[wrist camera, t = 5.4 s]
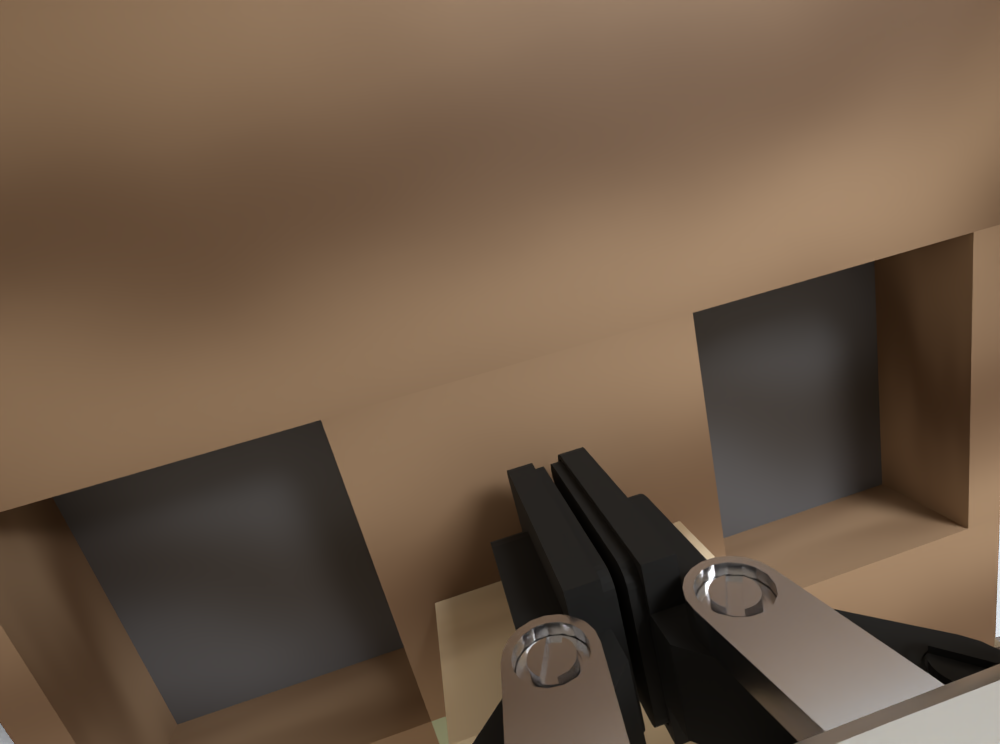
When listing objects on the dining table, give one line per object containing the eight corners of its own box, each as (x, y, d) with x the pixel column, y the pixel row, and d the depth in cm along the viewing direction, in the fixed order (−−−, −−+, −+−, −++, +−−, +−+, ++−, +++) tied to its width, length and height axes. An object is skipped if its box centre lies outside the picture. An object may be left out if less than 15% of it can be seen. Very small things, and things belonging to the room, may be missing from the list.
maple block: (435, 603, 12) (448, 745, 9) (680, 520, 13) (780, 623, 9) (498, 791, 14) (530, 970, 10) (711, 709, 14) (805, 853, 11)
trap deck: (-245, 51, 10) (-838, -118, 5) (886, -163, 13) (1184, -405, 8) (251, 912, 17) (194, 1175, 12) (905, 661, 20) (1067, 797, 15)
